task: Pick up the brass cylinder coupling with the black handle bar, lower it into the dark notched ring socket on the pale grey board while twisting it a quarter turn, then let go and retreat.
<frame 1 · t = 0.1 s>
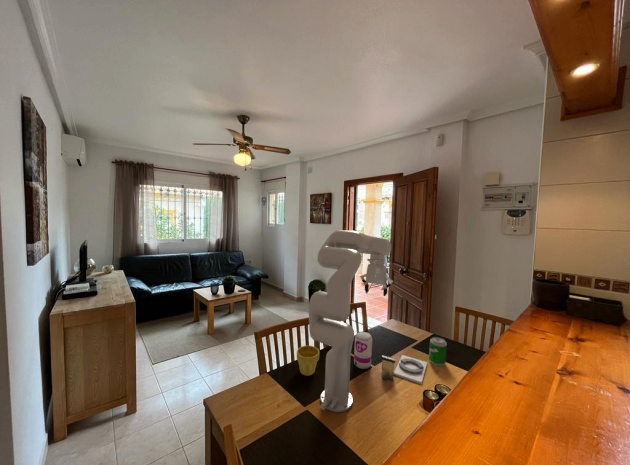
hand: (375, 293, 139), 31 cm above the table, tool pointing down, fingers open, 9 cm apart
plant pot: (307, 371, 121), on the table
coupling: (387, 377, 119), on the table
socket board: (411, 369, 125), on the table
supplement can: (362, 364, 128), on the table
soda can: (436, 363, 131), on the table
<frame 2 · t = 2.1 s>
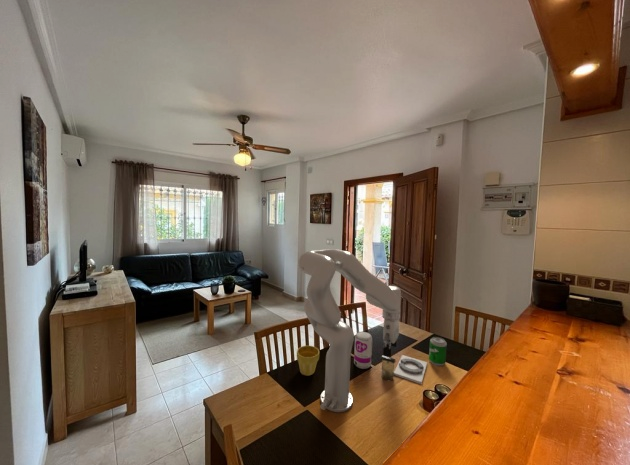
hand: (389, 351, 118), 12 cm above the table, tool pointing down, fingers open, 9 cm apart
nothing on the table moved.
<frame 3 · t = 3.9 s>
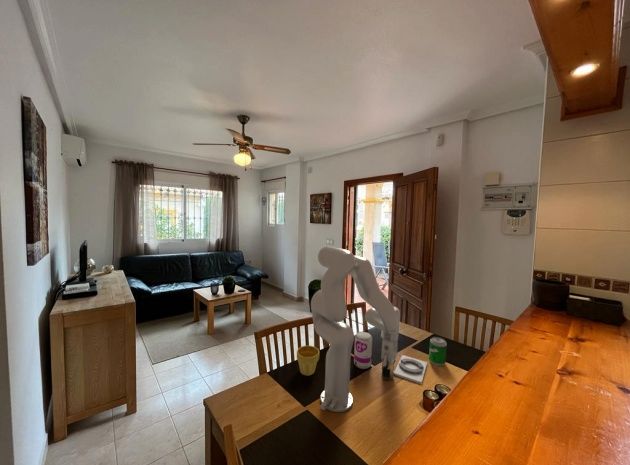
hand: (387, 372, 119), 2 cm above the table, tool pointing down, fingers closed on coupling, 5 cm apart
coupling: (387, 376, 119), on the table, touching gripper
everything else where it was.
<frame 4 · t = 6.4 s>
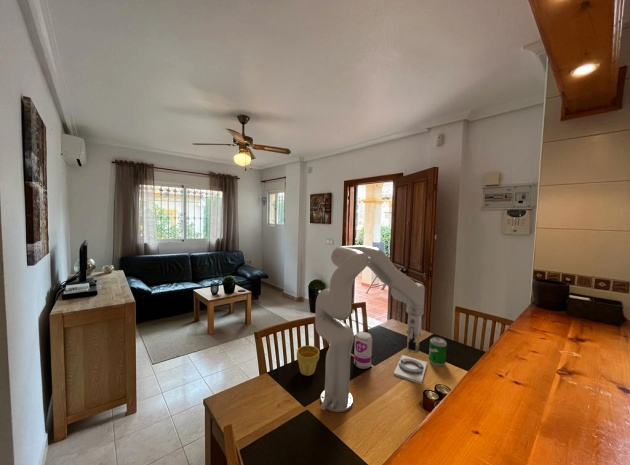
hand: (413, 346, 124), 11 cm above the table, tool pointing down, fingers closed on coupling, 5 cm apart
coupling: (412, 350, 125), point 9 cm above the table, touching gripper
everything else where it was.
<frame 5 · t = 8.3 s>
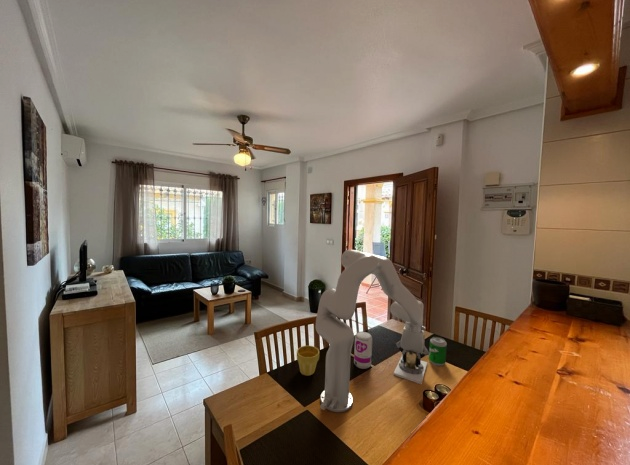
hand: (411, 363, 125), 3 cm above the table, tool pointing down, fingers closed on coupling, 5 cm apart
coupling: (410, 367, 125), point 1 cm above the table, touching gripper
everything else where it was.
when the fingers open (3 cm above the table, at t = 9.2 s): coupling stays where it is, resting on socket board.
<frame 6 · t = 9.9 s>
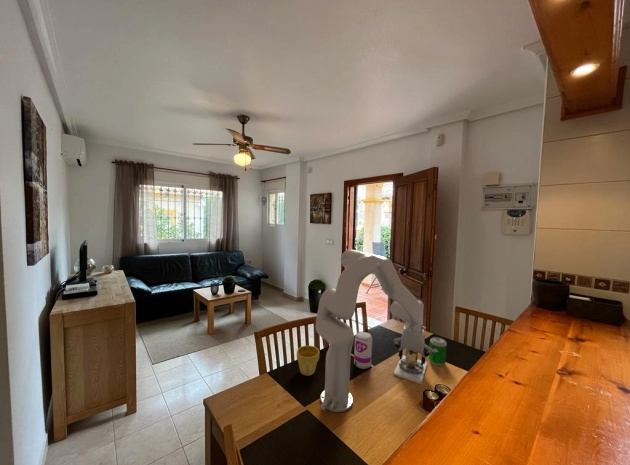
hand: (411, 361, 125), 4 cm above the table, tool pointing down, fingers open, 9 cm apart
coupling: (410, 367, 125), point 1 cm above the table, touching socket board
everything else where it was.
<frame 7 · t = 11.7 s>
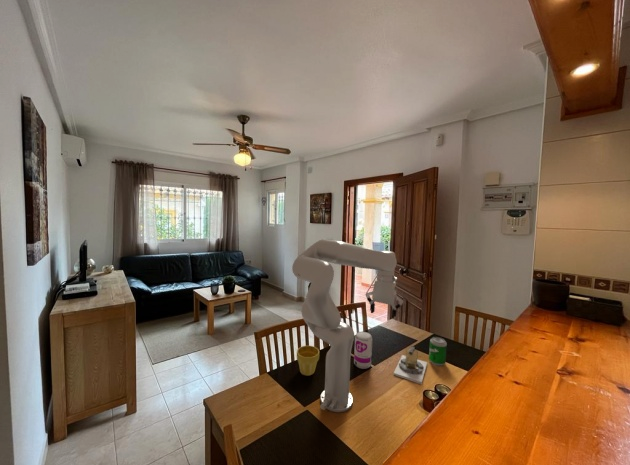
hand: (382, 314, 121), 27 cm above the table, tool pointing down, fingers open, 9 cm apart
nothing on the table moved.
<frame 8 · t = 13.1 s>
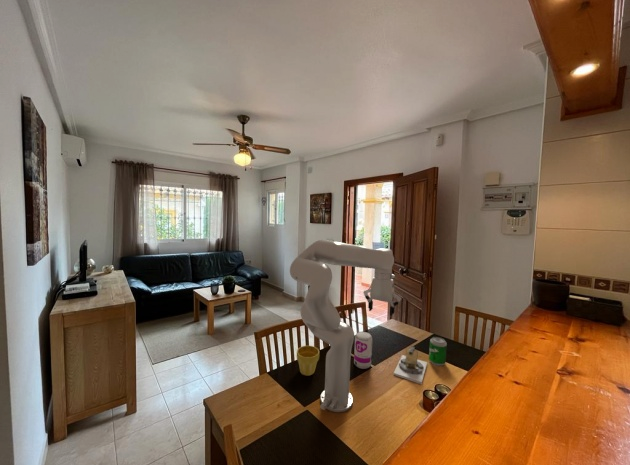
hand: (380, 312, 121), 28 cm above the table, tool pointing down, fingers open, 9 cm apart
nothing on the table moved.
at the end: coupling 0.1 cm off-centre on the socket board, point 1.0 cm above the socket board's base; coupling tilted 0°; the gripper is holding nothing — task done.
